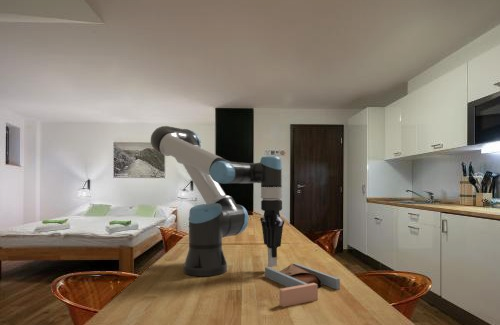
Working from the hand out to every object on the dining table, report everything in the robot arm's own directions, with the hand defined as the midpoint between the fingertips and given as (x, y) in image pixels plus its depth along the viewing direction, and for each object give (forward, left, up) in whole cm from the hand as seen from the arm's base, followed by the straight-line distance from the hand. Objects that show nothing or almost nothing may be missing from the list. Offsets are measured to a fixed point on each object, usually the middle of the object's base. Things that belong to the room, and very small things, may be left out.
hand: (272, 266), depth 119 cm
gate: (-11, -31, -2) cm, 33 cm away
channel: (0, -16, -2) cm, 16 cm away
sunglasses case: (0, -14, -2) cm, 14 cm away
